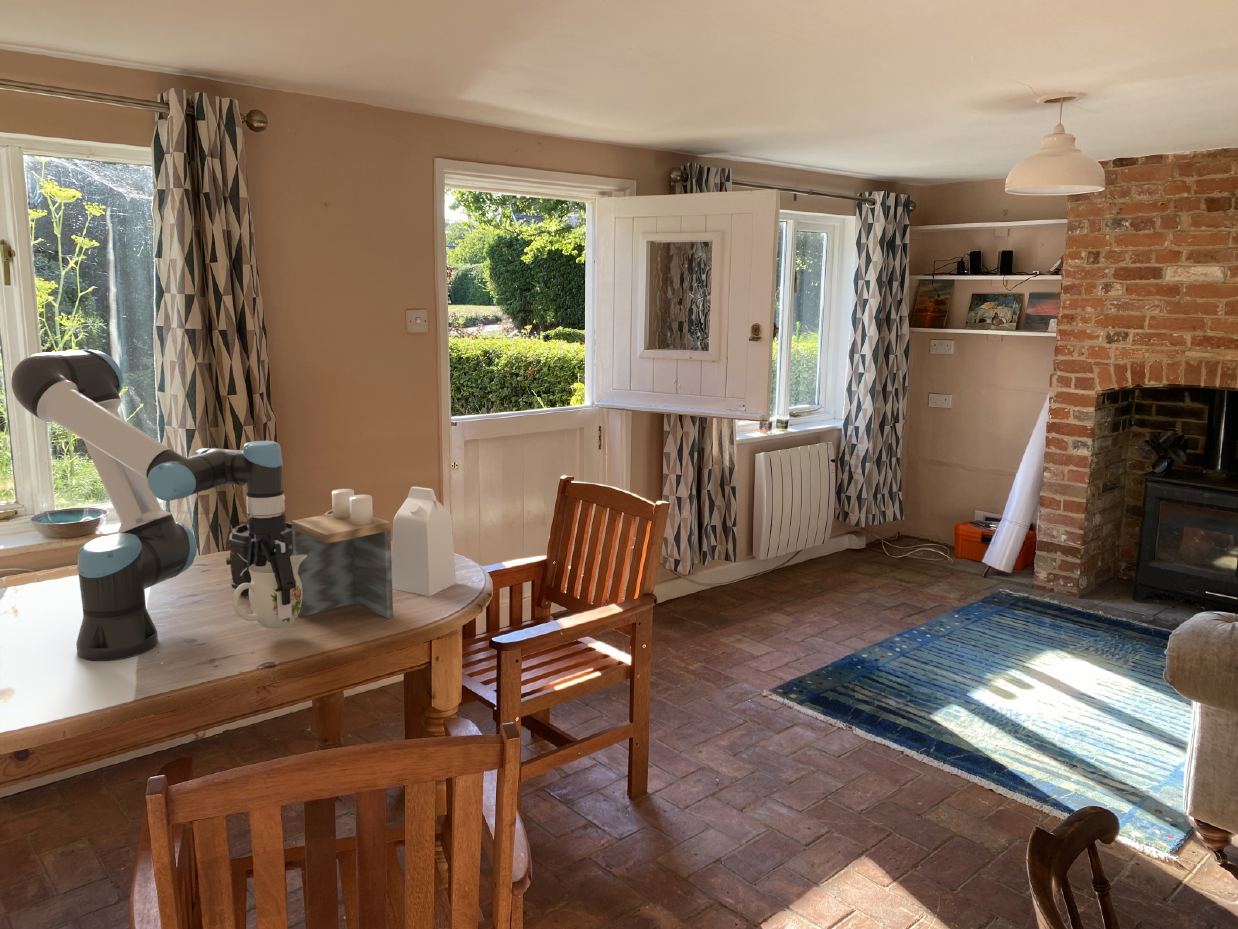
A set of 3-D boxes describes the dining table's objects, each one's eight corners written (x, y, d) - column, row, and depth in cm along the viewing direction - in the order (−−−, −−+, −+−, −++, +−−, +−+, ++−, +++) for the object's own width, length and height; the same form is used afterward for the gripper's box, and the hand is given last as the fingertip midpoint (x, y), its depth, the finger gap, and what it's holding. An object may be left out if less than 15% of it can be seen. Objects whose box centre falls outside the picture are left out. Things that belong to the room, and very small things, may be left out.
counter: (330, 634, 203) (326, 534, 198) (296, 615, 213) (291, 520, 209) (393, 616, 214) (390, 522, 209) (357, 599, 225) (354, 509, 220)
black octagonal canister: (230, 580, 238) (226, 521, 235) (302, 573, 244) (299, 516, 241) (227, 602, 221) (222, 540, 218) (304, 595, 228) (301, 534, 224)
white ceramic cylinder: (339, 519, 211) (338, 494, 209) (328, 515, 214) (327, 490, 213) (358, 516, 214) (358, 491, 213) (348, 512, 218) (347, 487, 216)
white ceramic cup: (357, 526, 205) (356, 500, 204) (346, 522, 209) (345, 496, 207) (377, 522, 209) (376, 497, 208) (365, 518, 212) (364, 493, 211)
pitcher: (221, 630, 195) (216, 569, 193) (294, 607, 210) (291, 550, 207) (251, 642, 189) (246, 579, 186) (324, 618, 203) (321, 559, 201)
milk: (456, 583, 239) (454, 486, 234) (429, 596, 229) (427, 495, 223) (418, 576, 244) (416, 481, 239) (391, 588, 233) (388, 490, 228)
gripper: (309, 520, 189) (314, 620, 193) (259, 501, 205) (265, 594, 209) (274, 527, 184) (281, 629, 188) (226, 506, 200) (232, 602, 204)
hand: (272, 611), depth 199 cm, fingers closed on pitcher, 11 cm apart
